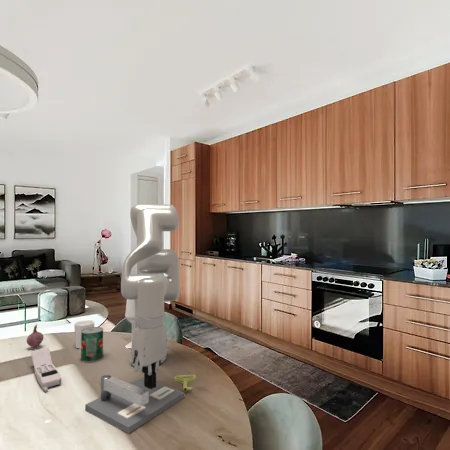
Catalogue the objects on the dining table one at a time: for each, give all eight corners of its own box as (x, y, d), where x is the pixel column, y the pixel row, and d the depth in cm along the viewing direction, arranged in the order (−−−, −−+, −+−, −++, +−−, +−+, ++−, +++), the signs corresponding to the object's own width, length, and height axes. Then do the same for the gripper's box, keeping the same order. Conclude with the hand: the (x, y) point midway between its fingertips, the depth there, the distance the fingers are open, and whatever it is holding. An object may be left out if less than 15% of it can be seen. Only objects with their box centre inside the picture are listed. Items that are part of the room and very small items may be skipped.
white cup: (98, 345, 135) (98, 322, 135) (81, 351, 128) (81, 326, 128) (86, 341, 139) (87, 319, 139) (70, 347, 132) (70, 323, 132)
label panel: (142, 381, 101) (142, 375, 101) (184, 397, 91) (184, 391, 91) (85, 410, 84) (85, 403, 84) (128, 433, 74) (128, 425, 74)
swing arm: (107, 394, 89) (107, 374, 90) (149, 413, 80) (149, 390, 80) (98, 398, 87) (98, 377, 87) (140, 418, 77) (140, 395, 78)
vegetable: (27, 352, 127) (27, 327, 127) (25, 347, 132) (26, 323, 132) (44, 348, 130) (44, 324, 131) (42, 344, 135) (42, 321, 136)
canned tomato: (106, 358, 120) (106, 329, 120) (85, 364, 114) (86, 334, 115) (97, 353, 126) (97, 325, 126) (77, 358, 120) (77, 329, 120)
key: (183, 396, 93) (183, 389, 93) (172, 379, 104) (172, 372, 104) (206, 391, 96) (206, 384, 96) (192, 375, 107) (192, 368, 107)
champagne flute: (144, 344, 136) (144, 289, 137) (134, 349, 129) (135, 291, 130) (131, 342, 138) (131, 288, 139) (121, 347, 132) (122, 290, 133)
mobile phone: (48, 347, 117) (64, 368, 97) (48, 363, 116) (64, 388, 97) (30, 351, 113) (42, 374, 93) (30, 367, 113) (42, 394, 93)
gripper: (160, 314, 97) (160, 374, 96) (120, 325, 85) (119, 394, 84) (178, 317, 93) (178, 380, 92) (138, 330, 80) (137, 402, 80)
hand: (150, 386), depth 88 cm, fingers closed
